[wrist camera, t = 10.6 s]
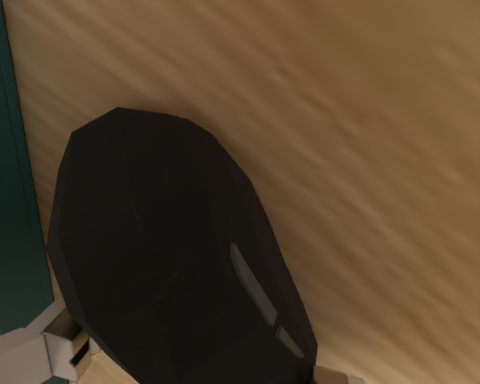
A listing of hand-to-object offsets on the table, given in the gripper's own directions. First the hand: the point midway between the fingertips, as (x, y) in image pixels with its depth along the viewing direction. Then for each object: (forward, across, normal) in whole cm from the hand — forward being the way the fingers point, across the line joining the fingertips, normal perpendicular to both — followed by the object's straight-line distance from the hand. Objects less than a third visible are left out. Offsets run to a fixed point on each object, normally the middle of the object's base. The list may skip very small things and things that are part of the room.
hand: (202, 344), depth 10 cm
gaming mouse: (+2, 0, 0) cm, 2 cm away
